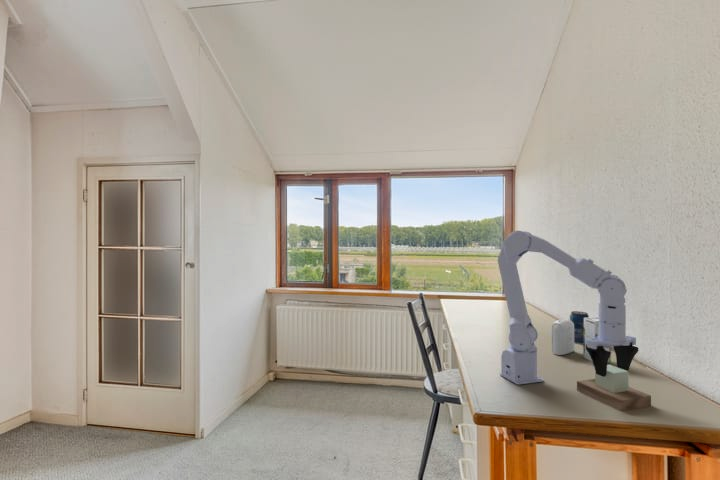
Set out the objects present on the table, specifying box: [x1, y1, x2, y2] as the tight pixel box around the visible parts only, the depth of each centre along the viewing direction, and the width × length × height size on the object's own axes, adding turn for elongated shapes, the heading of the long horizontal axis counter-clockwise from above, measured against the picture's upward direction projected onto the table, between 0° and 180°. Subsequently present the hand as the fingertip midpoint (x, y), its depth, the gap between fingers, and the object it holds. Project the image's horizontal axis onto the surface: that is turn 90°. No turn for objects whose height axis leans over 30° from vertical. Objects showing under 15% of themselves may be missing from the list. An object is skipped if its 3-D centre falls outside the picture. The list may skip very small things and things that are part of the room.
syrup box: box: [582, 316, 612, 364], centre depth 118 cm, size 6×6×14 cm
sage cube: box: [594, 364, 629, 393], centre depth 90 cm, size 5×5×5 cm
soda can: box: [569, 310, 590, 345], centre depth 140 cm, size 7×7×12 cm
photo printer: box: [551, 318, 575, 356], centre depth 127 cm, size 10×4×12 cm, turn 123°
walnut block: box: [576, 378, 652, 412], centre depth 90 cm, size 10×12×3 cm
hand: (611, 373), depth 90 cm, fingers open, 7 cm apart
